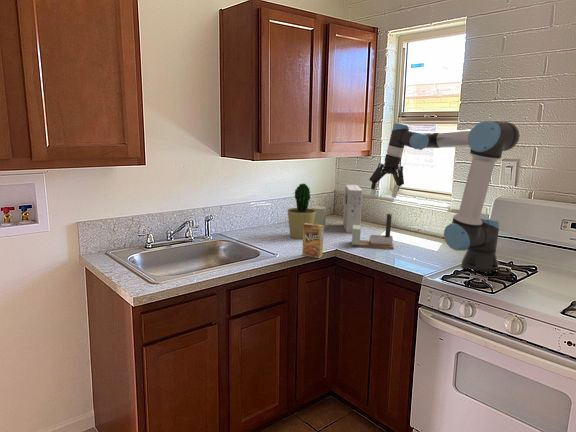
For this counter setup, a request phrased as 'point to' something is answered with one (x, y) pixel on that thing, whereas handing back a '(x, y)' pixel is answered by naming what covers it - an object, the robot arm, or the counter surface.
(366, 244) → the base board
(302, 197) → the potted cactus
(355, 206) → the white upright box
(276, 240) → the counter surface
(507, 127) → the robot arm
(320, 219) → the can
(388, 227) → the upright peg on base
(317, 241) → the candy box
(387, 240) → the sleeve
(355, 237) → the socket block
